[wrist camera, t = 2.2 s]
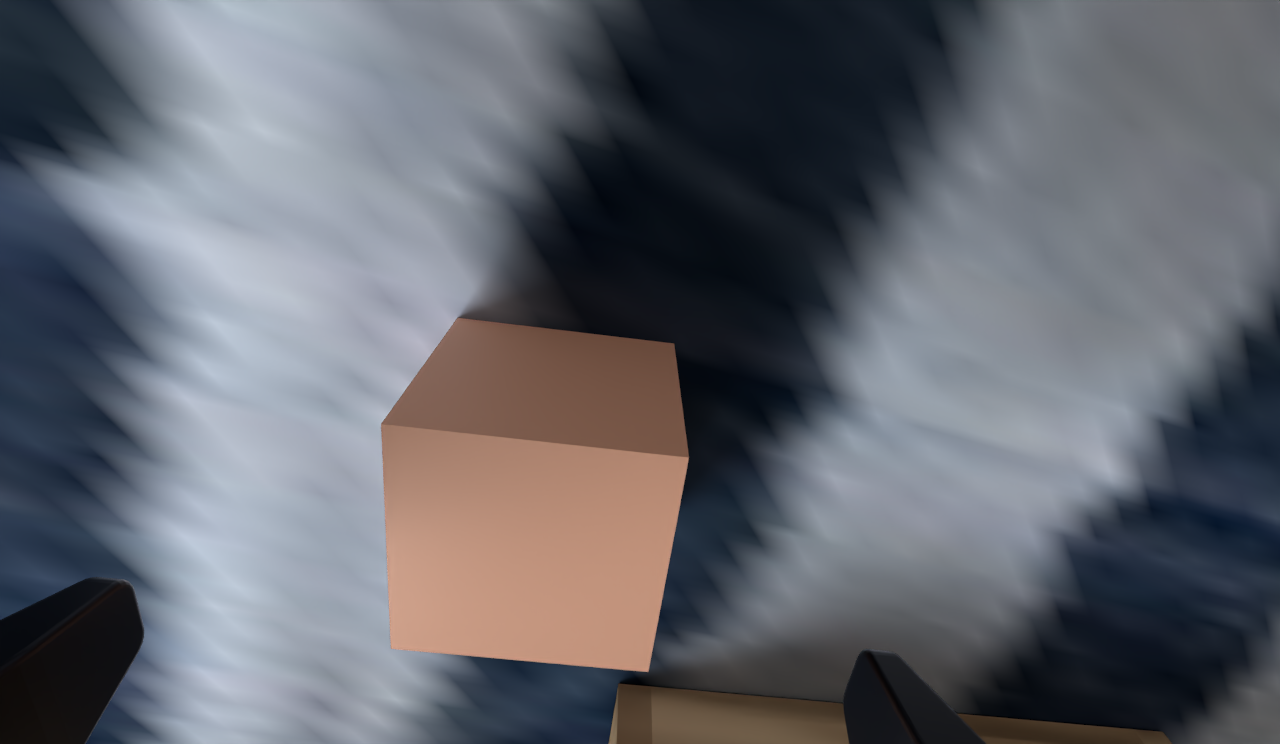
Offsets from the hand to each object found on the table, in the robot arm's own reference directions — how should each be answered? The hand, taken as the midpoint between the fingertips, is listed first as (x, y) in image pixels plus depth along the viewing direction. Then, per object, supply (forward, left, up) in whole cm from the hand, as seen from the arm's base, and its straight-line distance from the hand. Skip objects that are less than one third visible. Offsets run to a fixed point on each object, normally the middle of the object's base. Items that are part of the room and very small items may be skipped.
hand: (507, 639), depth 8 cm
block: (0, 0, -5) cm, 5 cm away
